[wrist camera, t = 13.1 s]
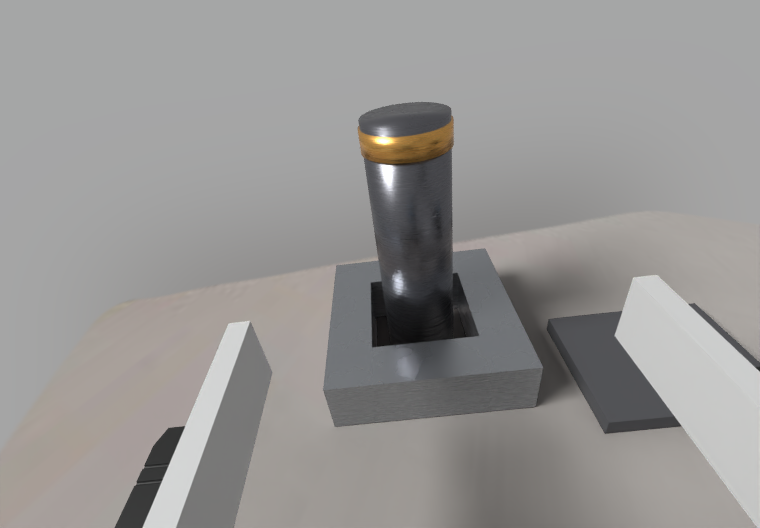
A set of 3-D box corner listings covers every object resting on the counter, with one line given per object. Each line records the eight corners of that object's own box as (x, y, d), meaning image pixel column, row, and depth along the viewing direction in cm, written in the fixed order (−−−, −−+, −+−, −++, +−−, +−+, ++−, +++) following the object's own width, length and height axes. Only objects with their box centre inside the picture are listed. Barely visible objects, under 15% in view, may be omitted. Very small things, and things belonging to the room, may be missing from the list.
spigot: (448, 317, 29) (444, 97, 20) (460, 365, 26) (462, 120, 17) (388, 323, 30) (357, 108, 21) (391, 372, 26) (355, 134, 17)
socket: (483, 282, 32) (485, 248, 30) (535, 406, 23) (543, 367, 21) (343, 298, 33) (336, 265, 31) (334, 426, 23) (323, 390, 21)
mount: (689, 314, 27) (694, 303, 26) (794, 415, 20) (804, 403, 20) (546, 329, 27) (548, 318, 27) (604, 433, 21) (609, 422, 20)
